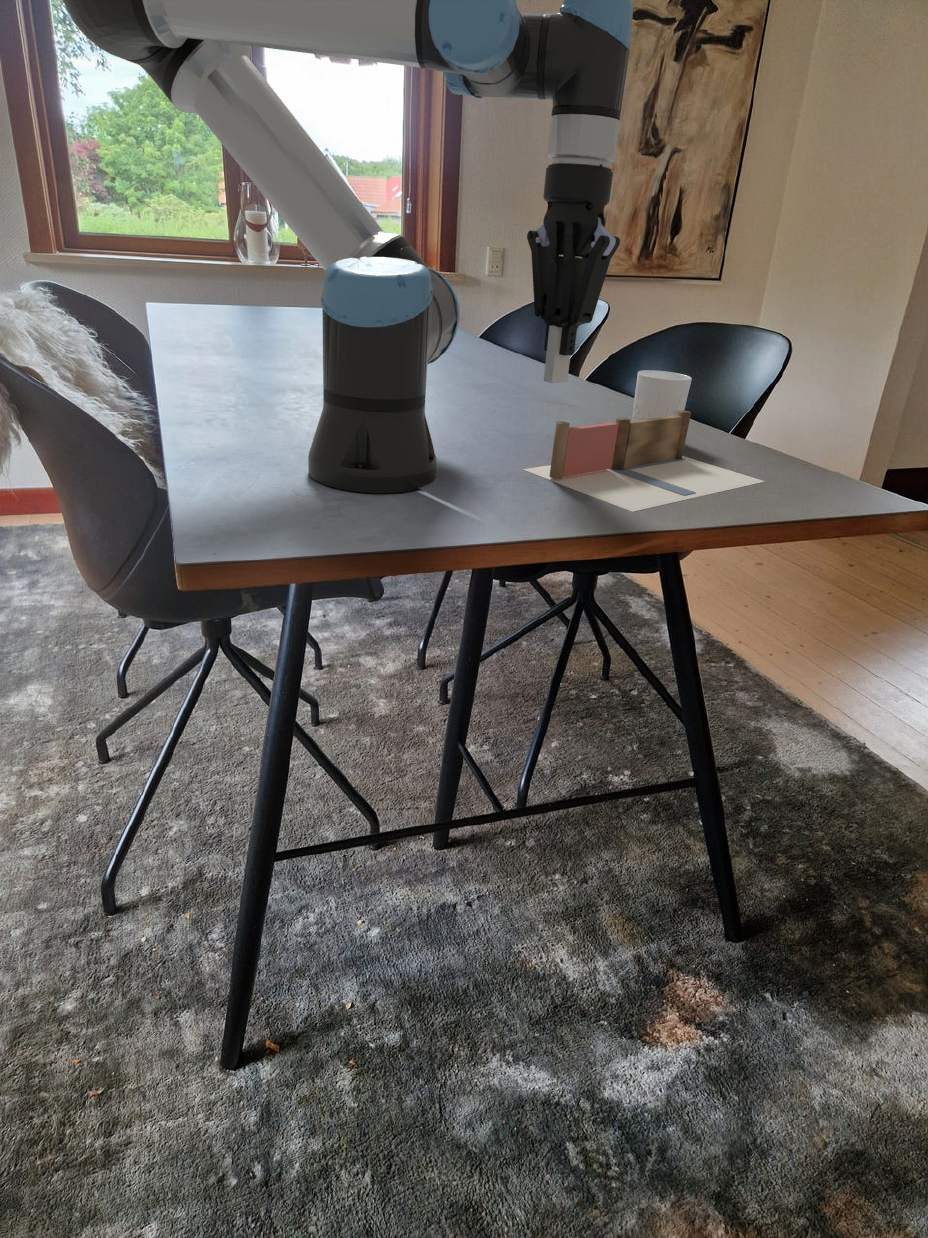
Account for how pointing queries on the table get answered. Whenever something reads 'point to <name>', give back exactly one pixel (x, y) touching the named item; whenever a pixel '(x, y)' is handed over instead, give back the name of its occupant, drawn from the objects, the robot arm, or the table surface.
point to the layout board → (652, 482)
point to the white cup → (660, 394)
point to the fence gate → (582, 449)
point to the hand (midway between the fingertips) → (555, 381)
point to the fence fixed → (650, 440)
